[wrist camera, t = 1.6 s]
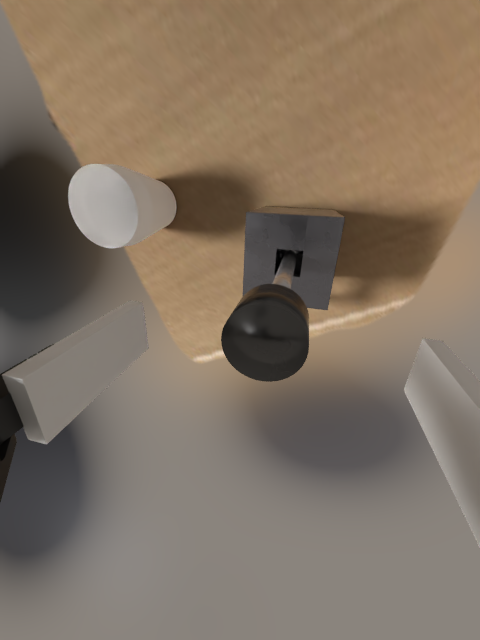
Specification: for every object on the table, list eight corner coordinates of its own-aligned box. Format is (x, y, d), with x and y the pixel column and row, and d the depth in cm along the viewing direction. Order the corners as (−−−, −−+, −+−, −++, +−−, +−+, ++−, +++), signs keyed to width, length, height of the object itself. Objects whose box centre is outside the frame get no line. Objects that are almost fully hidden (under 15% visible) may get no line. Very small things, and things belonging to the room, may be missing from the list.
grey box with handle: (265, 206, 37) (246, 212, 26) (333, 209, 36) (345, 217, 24) (259, 292, 43) (241, 328, 31) (318, 298, 41) (321, 339, 30)
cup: (193, 189, 39) (149, 187, 28) (173, 246, 43) (128, 263, 32) (137, 158, 39) (72, 145, 28) (123, 218, 43) (62, 226, 32)
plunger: (264, 223, 30) (194, 270, 12) (325, 226, 28) (352, 285, 10) (260, 279, 32) (199, 388, 14) (315, 285, 31) (324, 411, 13)
